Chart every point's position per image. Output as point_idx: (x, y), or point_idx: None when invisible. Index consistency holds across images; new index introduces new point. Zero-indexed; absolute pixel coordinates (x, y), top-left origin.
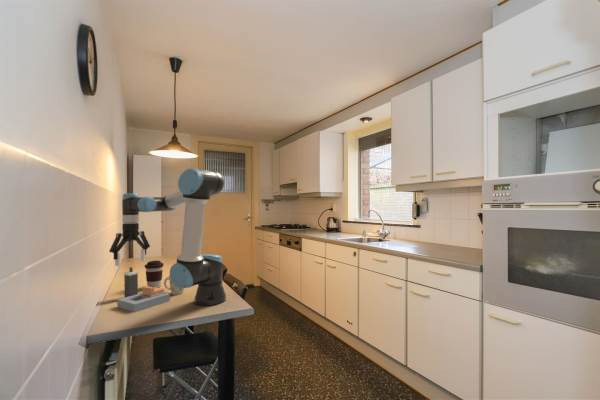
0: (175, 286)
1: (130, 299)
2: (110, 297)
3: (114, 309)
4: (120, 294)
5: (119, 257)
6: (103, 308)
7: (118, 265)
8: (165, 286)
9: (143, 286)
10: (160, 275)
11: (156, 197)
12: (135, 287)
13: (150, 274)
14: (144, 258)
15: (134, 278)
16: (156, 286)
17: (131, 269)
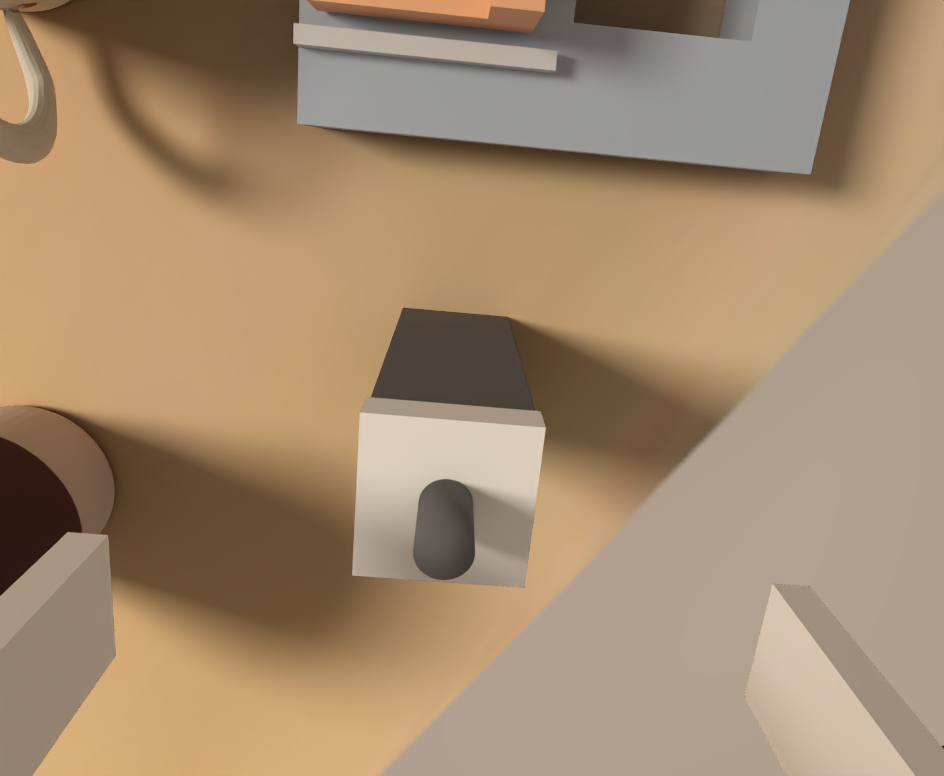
0: None
1: (720, 39)
2: (545, 568)
3: (843, 124)
4: None
5: (905, 754)
6: (848, 280)
7: (813, 594)
8: (51, 126)
9: (529, 7)
10: None
11: None
12: (427, 339)
13: (7, 537)
14: (39, 582)
15: (437, 382)
16: (40, 414)
17: (453, 508)
